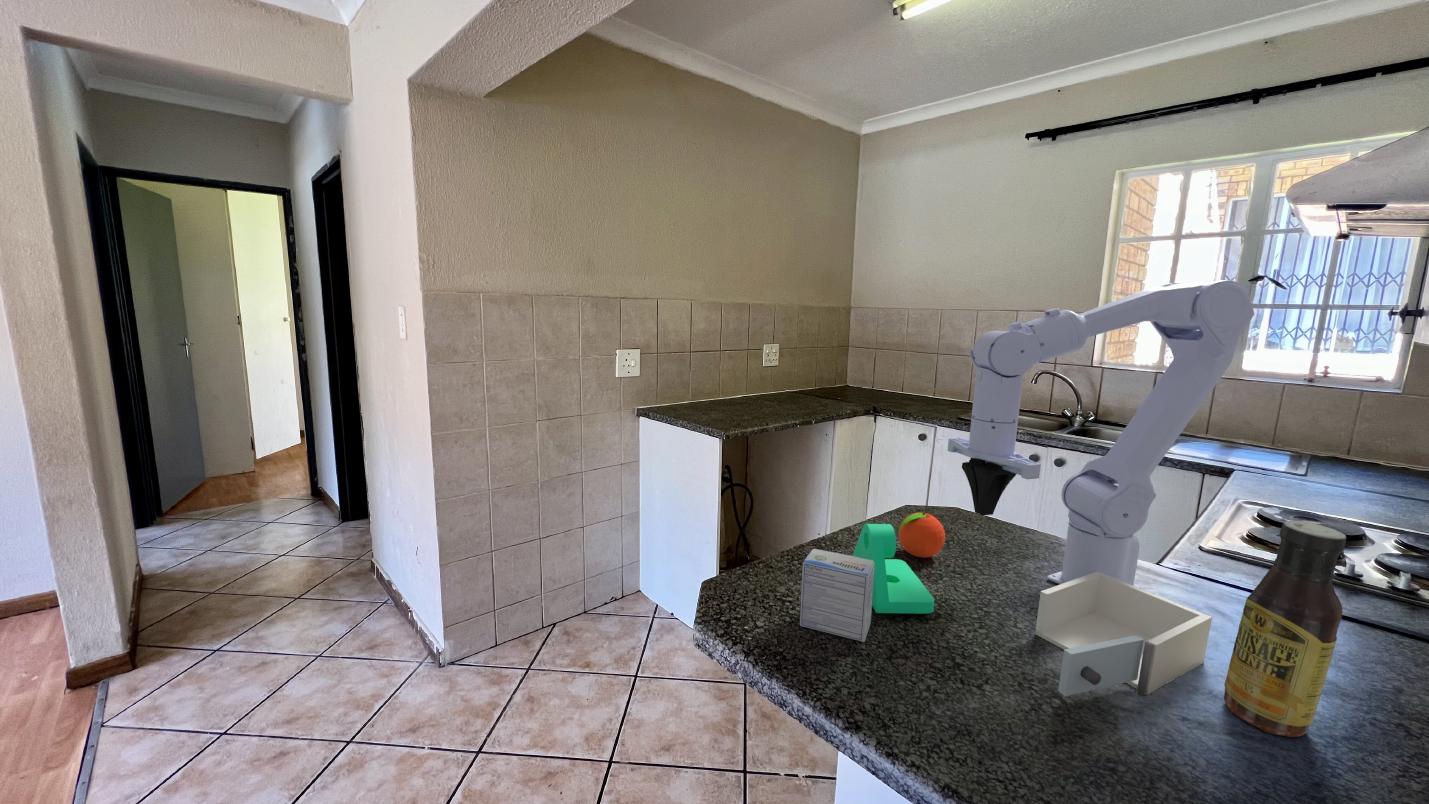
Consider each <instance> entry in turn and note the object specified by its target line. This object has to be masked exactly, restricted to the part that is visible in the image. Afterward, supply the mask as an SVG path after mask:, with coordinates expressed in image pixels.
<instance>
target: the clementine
mask: <svg viewBox="0 0 1429 804" xmlns="http://www.w3.org/2000/svg"><path fill="white" fill-rule="evenodd" d="M898 528H899V529H898V537H899V542H900V544H901V545H902V547H903V548H904V550H905V551H906V552H907V553H909V554H910V555H912V556H914V557H918V558H930V557H934V556H936V555H937V554H938V553H939V552H940V551H941V550H942V548H943V547H944V545H945V542H946V532H945V528H944V526H943V524H942V523H941V522H940V521H939V520H938V519H937V518H936V517H935V516H934V515H932V514H931V513H926V512H915V513H911V514H909V515H908V516H906V517H904V519H903V520H902V522H901V523H900V525H899V527H898Z"/></svg>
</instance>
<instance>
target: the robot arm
mask: <svg viewBox="0 0 1429 804" xmlns="http://www.w3.org/2000/svg"><path fill="white" fill-rule="evenodd" d="M1254 316H1255V311H1254V308H1253V304H1252V301H1251V298H1250V295H1249V293H1248V291H1247V289H1246V288H1245V286H1244V285H1243V284H1241V283H1240V282H1237V281H1234V280H1232V279H1231V280H1229V279H1224V280H1223V279H1222V280H1218V281H1217V280H1216V281H1211V282H1209V281H1208V282H1207V281H1206V282H1191V283H1188V282H1187V283H1179V282H1170V283H1165V284H1163V285H1160V286H1154V287H1148V288H1145V289H1142V290H1140V291H1137V292H1134V293H1132V294H1129V295H1127V296H1123V297H1121V298H1118V299H1115V300H1113V301H1111V302H1108V303H1105V304H1102V305H1100V306H1096V307H1094V308H1093V309H1090V310H1087V311H1085V312H1082V313H1077V312H1074V311H1072V310H1070V309H1062V310H1061V309H1060V308H1057V307H1056V308H1050V309H1047V310H1044V316H1040V317H1037V318H1034V319H1032V320H1029V321H1026V322H1023V323H1022V322H1021V321H1015V322H1012V323H1009V328H1008V329H1007V331H1005V330H990V331H987V332H985V333H983V334H981V335H980V338H977V340H976V342H975V343H974V346H973V348H972V349H970V350H969V351H970V352H969V356H970V360H971V362H972V363H973V366H975V368H976V372H975V373H976V374H975V381H974V383H975V384H974V389H973V390H974V391H973V400H972V408H971V409H972V410H971V418H970V419H971V420H970V427H969V428H970V429H969V437H968V439H964V438H961V437H953V438H951V437H950V438H948V444H947V452H950V453H956V454H959V455H963V456H965V457H966V458H967V457H968V458H970V459H969V460H968V461H965V462H962V463H961V468H962V470H963V472H964V474H965V476H966V479H967V482H968V485H969V488H970V492H971V497H972V502H973V509H974V513H976V514H978V515H979V516H982V517H983V516H992V515H994V512H995V510H996V507H997V505H998V503H999V501H1000V499H1001V496H1002V495H1003V493H1004V492H1005V489H1006V488H1007V487H1008V485H1009V484H1010V482H1011V481H1012V480H1013V479H1014V478H1015V477H1016V476H1017V475H1019V476H1021V478H1022V479H1025V480H1036V479H1040V472H1041V465H1042V464H1041V463H1038V462H1036V461H1034V460H1032V459H1029V458H1028V457H1026V456H1024V455H1022V454H1020V453H1017V451H1015V448H1016V441H1017V440H1016V439H1017V435H1018V434H1017V432H1018V425H1019V415H1020V407H1021V399H1022V391H1023V389H1022V388H1023V379H1024V374H1027V372H1029V370H1030V369H1031V368H1032V367H1033V366H1034V365H1037V364H1040V363H1043V362H1046V361H1049V360H1052V359H1055V358H1058V357H1061V356H1064V355H1067V354H1071V353H1073V352H1077V351H1080V350H1081V349H1082V348H1084V346H1085V344H1086V342H1087V340H1088V338H1090V337H1093V336H1096V335H1101V334H1104V333H1108V332H1111V331H1114V330H1118V329H1121V328H1122V329H1123V328H1124V327H1129V326H1133V325H1136V324H1139V323H1140V324H1141V323H1143V322H1150V323H1151V325H1152V326H1153V328H1154V329H1155V330H1156V331H1157V333H1158V334H1159V336H1160V337H1161V338H1162V340H1163V341H1164V342H1165V344H1166V345H1167V347H1168V348H1169V349H1170V351H1171V353H1172V356H1173V359H1172V360H1171V362H1170V364H1169V365H1168V366H1167V368H1165V369H1166V370H1165V371H1164V372H1163V374H1162V375H1161V377H1160V378H1159V379H1158V381H1157V383H1156V384H1155V385H1154V387H1153V388H1152V390H1151V391H1150V392H1149V394H1148V395H1147V397H1146V398H1145V399H1144V401H1143V402H1142V404H1141V405H1140V407H1139V408H1138V409H1137V411H1135V413H1134V414H1133V416H1132V418H1131V419H1130V421H1129V422H1128V424H1127V425H1126V426H1125V428H1124V429H1123V431H1122V432H1121V434H1120V435H1119V436H1118V438H1117V440H1116V441H1114V444H1113V445H1112V446H1111V448H1110V449H1109V451H1108V452H1107V453H1106V455H1105V454H1104V455H1103V456H1101V457H1097V458H1095V459H1092V460H1090V461H1087V462H1086V464H1085V465H1084V466H1083V468H1082V469H1081V470H1080V471H1079V472H1078V473H1076V474H1074V475H1072V476H1070V478H1068V479H1067V480H1066V481H1065V483H1064V484H1063V487H1062V489H1061V495H1060V496H1061V500H1062V503H1063V505H1064V506H1065V508H1066V509H1068V513H1067V517H1068V518H1069V519H1068V523H1067V532H1066V540H1065V547H1064V548H1065V549H1064V553H1063V554H1064V555H1063V560H1062V561H1063V563H1062V566H1061V567H1062V568H1061V571H1058V572H1055V573H1052V574H1049V575H1048V576H1047V580H1049V581H1051V582H1053V583H1055V584H1058V585H1060V584H1063V583H1066V582H1069V581H1072V580H1074V579H1077V578H1080V577H1083V576H1086V575H1089V574H1091V573H1094V572H1097V571H1098V572H1100V573H1103V574H1105V575H1108V576H1110V577H1113V578H1115V579H1118V580H1120V581H1123V582H1125V583H1128V584H1130V585H1133V586H1135V587H1138V588H1140V589H1142V587H1141V585H1139V584H1136V583H1135V577H1136V571H1137V565H1138V559H1139V555H1140V554H1139V553H1140V546H1141V545H1140V542H1139V538H1138V535H1136V533H1137V532H1139V531H1140V530H1142V528H1143V526H1145V524H1146V522H1147V519H1148V517H1149V510H1150V507H1151V504H1152V503H1153V502H1154V500H1155V499H1156V498H1157V493H1156V490H1155V488H1154V486H1153V482H1152V480H1151V476H1152V474H1153V472H1154V471H1155V470H1156V469H1157V467H1158V465H1159V464H1160V463H1161V461H1162V460H1163V458H1165V456H1166V454H1167V453H1168V452H1169V451H1170V449H1171V447H1172V446H1173V445H1174V443H1175V442H1176V441H1177V439H1178V438H1179V437H1180V435H1181V434H1182V432H1183V431H1184V430H1185V428H1186V427H1187V425H1188V424H1189V423H1190V421H1191V420H1192V418H1193V417H1194V416H1195V414H1196V413H1197V412H1198V410H1199V409H1200V407H1202V405H1203V403H1204V402H1205V400H1207V398H1208V396H1209V395H1210V394H1211V392H1212V391H1213V389H1214V388H1215V387H1216V385H1217V384H1218V383H1219V381H1220V380H1221V378H1222V377H1223V376H1224V374H1225V373H1226V371H1227V370H1229V367H1230V366H1231V364H1232V362H1233V360H1234V355H1235V351H1236V348H1237V346H1238V345H1237V344H1238V340H1239V337H1240V335H1241V334H1242V332H1243V331H1244V330H1245V329H1246V328H1247V325H1248V324H1249V322H1251V320H1252V319H1253V317H1254Z"/></svg>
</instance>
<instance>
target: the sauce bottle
mask: <svg viewBox="0 0 1429 804" xmlns="http://www.w3.org/2000/svg"><path fill="white" fill-rule="evenodd" d="M1279 537H1280V543H1279V547H1278V551H1277V555H1276V558H1275V559H1274V563H1273V565H1271V567H1270V569H1269V570H1268V571H1267V572H1266V574H1265V575H1264V576H1263V578H1262V579H1261V580H1260V581H1259V583H1258V584H1257V585H1256V586H1255V588H1254V589H1253V590H1252V592H1251V593H1250V594H1249V595H1248V596H1247V598H1246V599H1245V602H1244V606H1243V610H1242V615H1241V618H1240V622H1239V624H1238V630H1237V633H1236V634H1237V635H1236V637H1235V640H1234V643H1233V650H1232V654H1231V656H1230V657H1231V658H1230V662H1229V665H1228V670H1227V674H1226V678H1225V681H1224V685H1223V686H1224V694H1223V701H1224V703H1225V705H1226V706H1227V708H1228V709H1229V710H1230V711H1231V712H1232V713H1233V714H1234V715H1236V717H1237V718H1239V719H1241V720H1243V721H1244V722H1246V723H1249V724H1250V725H1251V726H1254V727H1255V728H1258V729H1259V730H1261V731H1263V732H1266V733H1268V734H1271V735H1276V736H1282V737H1287V738H1288V737H1289V738H1296V737H1302V736H1304V735H1305V734H1306V733H1307V732H1308V730H1309V727H1310V726H1311V725H1312V724H1313V721H1314V720H1315V717H1316V716H1315V715H1316V712H1317V709H1318V706H1319V702H1320V698H1321V696H1322V692H1323V688H1324V686H1325V683H1326V679H1327V676H1328V672H1329V668H1330V666H1331V665H1330V664H1331V661H1332V658H1333V653H1334V651H1335V647H1336V644H1337V641H1338V637H1337V635H1338V634H1337V633H1338V629H1339V628H1340V624H1341V621H1342V619H1343V605H1342V603H1341V600H1340V598H1339V596H1338V594H1337V593H1336V591H1335V588H1334V584H1333V581H1334V579H1335V576H1336V575H1335V574H1334V573H1335V570H1336V566H1337V563H1338V559H1339V555H1340V554H1341V553H1342V552H1343V551H1344V550H1345V546H1346V544H1347V543H1346V542H1347V536H1346V535H1345V534H1344V533H1342V532H1341V531H1339V530H1337V529H1334V528H1331V527H1327V526H1326V525H1321V524H1318V523H1313V522H1307V521H1302V520H1287V521H1284V522H1283V523H1282V525H1281V529H1280V531H1279Z"/></svg>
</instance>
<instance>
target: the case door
mask: <svg viewBox="0 0 1429 804" xmlns="http://www.w3.org/2000/svg"><path fill="white" fill-rule="evenodd" d="M1143 642H1144V639H1142V638H1140V637H1139V636H1137V635H1134V636H1129V637H1124V638H1119V639H1114V640H1109V641H1104V642H1099V643H1094V644H1089V645H1084V646H1079V647H1074V648H1069V649H1063V653H1062V662H1061V667H1060V668H1061V669H1060V675H1059V682H1058V689H1057V691H1058V692H1059V693H1060V694H1061V695H1063V696H1064V697H1068V696H1073V695H1076V694H1082V693H1085V692H1090V691H1094V690H1098V689H1104V688H1107V687H1112V686H1117V685H1121V684H1124V683H1125V682H1130V681H1134V680H1137V677H1138V671H1139V666H1140V660H1141V654H1142V648H1143ZM1125 684H1126V683H1125Z"/></svg>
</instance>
